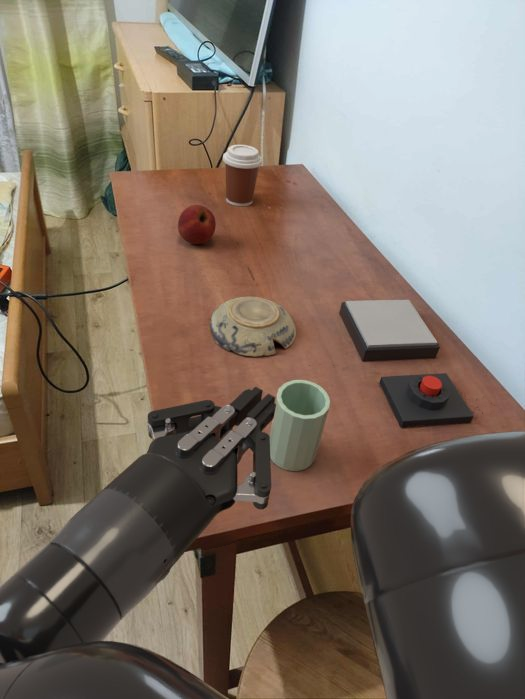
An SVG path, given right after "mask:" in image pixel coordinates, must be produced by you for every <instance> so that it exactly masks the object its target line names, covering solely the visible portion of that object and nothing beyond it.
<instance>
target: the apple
mask: <svg viewBox="0 0 525 699" xmlns="http://www.w3.org/2000/svg"><path fill="white" fill-rule="evenodd" d="M216 224H217V222H216V217H215V215H214V214H213V212H212V211H211V210H210V209H209V208H208V207H206V206H204V205H202V204H193V205H189V206H187V207H185V209H183V211H182V212H181V213H180V215H179V217H178V221H177V230H178V233H179V235H180V236H181V238H182V239H183V240H184V241H185V242H188V243H190V244H193V245H202V244H206V243H208V241H209V240H211V239H212V237H213V236H214V234H215V231H216Z"/></svg>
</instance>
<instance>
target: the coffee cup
mask: <svg viewBox="0 0 525 699" xmlns="http://www.w3.org/2000/svg"><path fill="white" fill-rule="evenodd" d="M222 155H223V156H222V161H223V162H224V165H225V201H226V203H228V204H230V205H232V206H237V207H247V206H250V205H251V204H253V201H254V195H255V190H256V184H257V178H258V175H259V174H258V173H259V167H261V166H262V165H263V157H262V156H261V155H260V154H259V150H258V149H257V148H256V147H253V146H251V145H247V144H233V145H230V146H229V147H227V151H226V152H224V153H223V154H222Z"/></svg>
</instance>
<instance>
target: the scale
mask: <svg viewBox="0 0 525 699" xmlns="http://www.w3.org/2000/svg"><path fill="white" fill-rule="evenodd" d="M338 313H339V315H340V317H341V319H342V322H343V323H344V326H345V327H346V330H347V332H348V334H349V336H350V338H351V341H352V343H353V345H354V347H355V349H356V352H357V353H358V354H359V357H360V360H361V361H362V362H377V361H396V360H397V361H398V360H420V359H436V358H437V356H438V354H439V351H440V349H441V346H440V344H439V343H438V341H437V340H436V338H435V336H434V335H433V333H432V332H431V330H430V329H429V327H428V326H427V324H426V323H425V321H424V320H423V318H422V317H421V315H420V314H419V312H418V310H416V308H415V306H414V304H412V302H411V300H410V299H370V300H368V299H367V300H346V301H342V302H341V303H340V308H339V312H338Z"/></svg>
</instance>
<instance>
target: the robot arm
mask: <svg viewBox="0 0 525 699" xmlns="http://www.w3.org/2000/svg"><path fill="white" fill-rule="evenodd" d="M263 391H264V390H263V389H261V388H259V387H258V386H254V387H253V388H252V389H250V388H248V389H245V390H243V391H242V392H241V393H240V394H239V395H238V396H237V397H236V398H235V399H234V400H232V402H230V403H229V404H226V405H223V406H219V405H215V402H214V401H213V400H211V399H204V400H199V401H193V402H189V403H184V404H179V405H174V406H171V407H165V408H161V409H156V410H152V411H150V412H148V413H147V421H146V422H147V432H148V437H149V438H150V439H152V441H151V442H150V443H149V446H148V448H147V452H146V453H144V454H141V455H140V456H138V458H136V459H135V460H134V461H133V462H132V463H131V464H129V466H127V467H126V468H125V469H124V470H123V471H122V472H121V473H120V474H118V475H117V476H116V477H115V478H114V479H113V480H112V481H110V483H108V484H107V485H106V486H105V487H103V489H101V490H100V491H99V492H98V493H97V494H96V495H95V496H94V497H93V498H92V499H90V501H88V502H87V503H86V504H85V505H84V506H82V507H81V508H80V509H79V510H78V511H77V512H76V513H75V514H73V516H72V517H71V518H70V519H69V520H68V521H67V522H66V523H65V525H63V527H62V528H61V529H60V531H59V532H57V534H56V535H55V536H54V537H53V538H52V539H51V540H50V541H49V542H48V543H47V544H46V545H45V546H43V548H41V549H40V550H39V551H38V552H37V553H35V554H34V555H33V556H32V557H31V558H30V559H29V560H28V561H26V562H25V564H23V565H22V567H20V568H19V569H18V570H17V571H16V572H15V573H14V574H13V575H12V576H10V577H9V578H8V579H7V580H6V581H4V582H3V583H2V584H1V585H0V699H230V698H229V697H227V696H226V695H224V694H222V693H221V692H220V691H218V690H216V689H215V688H214V687H213V686H211V685H209V684H208V683H207V682H205V681H204V680H203V679H201V678H200V677H198V676H196V674H194V673H193V672H191V671H189V670H187V668H184V667H183V666H181V665H179V664H178V663H176V662H175V661H173V660H172V659H169V658H167V657H166V656H163V655H161V654H159V653H158V652H155V651H153V650H151V649H149V648H147V647H143V646H140V645H137V644H134V643H133V644H132V643H128V642H121V641H115V640H106V639H107V637H108V636H109V635H110V634H111V633H112V632H113V630H114V629H115V628H116V627H117V626H118V625H119V623H120V621H122V620H123V619H124V618H125V617H126V616H127V615H128V614H129V613H130V612H131V611H132V610H133V609H134V608H136V607H137V606H138V605H139V604H140V603H141V602H142V601H143V600H144V599H145V598H146V597H147V596H148V595H150V593H151V592H152V591H153V590H154V589H155V588H156V587H157V585H158V584H159V583H161V582H162V581H164V580H165V578H166V577H167V576H168V575H169V574H170V572H171V570H172V568H173V567H174V566H175V565H176V564H177V562H178V561H179V559H181V557H182V556H183V555H184V554H185V553H186V551H187V550H188V549H189V548H190V547H191V546H192V544H193V543H194V542H195V541H196V540H197V539H198V537H199V536H200V535H201V534H202V533H203V532H204V531H205V529H206V528H207V527H208V526H209V525H210V523H211V522H212V521H213V520H214V518H215V517H216V516H217V515H218V514H220V513H222V512H223V511H226V510H228V509H230V508H232V507H233V506H234V504H235V503H236V502H241V503H252V504H253V507H254V508H255V509H257V510H265V509H266V508H267V507H268V505H269V500H270V495H271V491H272V468H271V467H272V466H271V464H272V462H271V458H270V434H268V433H267V432H264V429H266V427H267V426H268V425H269V424H270V423H272V420H273V418H274V414H275V409H276V404H275V402H276V396H274V395H272V394H270V393H267V394H266V395H265V396H264V397H263ZM262 397H263V398H262ZM235 426H236V428H234V427H235ZM248 450H250V451H251V452H252V471H251V472H250V473H248V474H247V475H246V476H245V477H244V481H243V482H242V483H240V484H239V483H238V478H239V477H238V472H239V471H238V465H239V463H241V460H242V458H243V456H244V455H245V454H246V453H247V452H248ZM349 519H350V520H349V521H350V538H351V539H350V540H351V547H352V555H353V560H354V565H355V570H356V575H357V580H358V584H359V590H360V594H361V599H362V603H363V605H364V606H365V607H364V608H365V610H364V611H365V614H366V618H367V623H368V628H369V630H370V631H369V632H370V635H371V639H372V644H373V649H374V652H375V656H376V660H377V666H378V669H379V673H380V677H381V681H382V686H383V691H384V694H385V699H525V430H514V431H513V430H512V431H510V430H509V431H501V432H500V431H499V432H490V433H488V432H487V433H480V434H472V435H467V436H462V437H456V438H452V439H446V440H442V441H438V442H434V443H431V444H428V445H425V446H422V447H419V448H416V449H413V450H409V451H407V452H406V453H404V454H402V455H400V456H398V457H396V458H394V459H392V460H390V461H389V462H387V463H385V464H383V465H382V466H380V467H379V468H378V469H376V470H375V471H374V472H373V473H372V474H371V475H369V477H367V479H366V480H365V481H364V482H363V484H362V485H361V487H360V489H359V490H358V491H357V494H356V495H355V497H354V499H353V502H352V504H351V511H350V518H349Z"/></svg>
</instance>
